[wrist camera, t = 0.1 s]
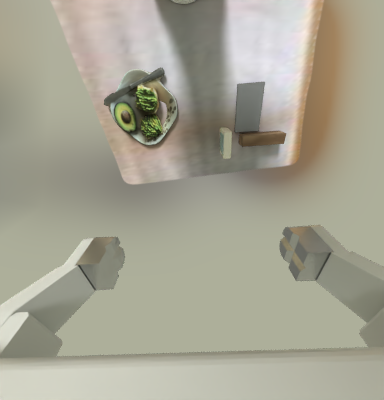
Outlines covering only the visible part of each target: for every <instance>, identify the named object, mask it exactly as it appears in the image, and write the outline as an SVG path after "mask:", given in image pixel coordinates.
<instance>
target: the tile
mask: <svg viewBox="0 0 384 400" xmlns="http://www.w3.org/2000/svg"><path fill="white" fill-rule="evenodd" d="M231 143H232V132H231V131H230V130H229V129H228V128H227V127H224V128H220V153H221V155H222V157H223V159H230V158H231Z"/></svg>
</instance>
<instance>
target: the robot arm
mask: <svg viewBox="0 0 384 400" xmlns="http://www.w3.org/2000/svg"><path fill="white" fill-rule="evenodd" d="M171 1H173V2H176V3H179V4H187V3H191V2H193V1H195V0H171ZM283 235H284V236H285V237H284V238H283V239H281V241H280V252H281V255H282V257H283V259H284V260H285V261H287V262H288V263H290V264H289V269H290V271H291V273H292V274H293V276H294V278H295V280H296V281H316V282H317V283H318V284H320V285H321V286H322V287H323V288H325V289H326V290H327V291H328V292H329V293H331V294H332V295H333V296H335V297H336V298H337V299H338V300H339V301H341V302H342V303H343V304H344V305H346V306H347V307H348V308H349V309H351V310H352V311H353V312H354V313H356V314H357V315H358V316H359V317H361V318H362V319H363V320H364V321H366V322H367V324H366V325H365V326H364V327H363V328H362V329H361V330H360V333H359V334H360V336H361V337H362V338H363V340H364V341H365V343H366V344H367V346H368V347H355V348H323V349H289V350H255V351H225V352H224V351H222V352H189V353H159V354H158V353H157V354H126V355H125V354H124V355H92V356H91V355H90V356H57V357H56V355H57V353H58V352H59V349H60V348H61V346H62V340H61V339H60V338H59V337H57V336H56V335H55V333H56V332H57V331H58V330H59V329H60V327H61V326H62V325H63V324H64V323H65V322H66V321H67V320H68V319H69V318H70V317H71V316H72V315H73V314H74V313H75V312H76V311H77V310H78V309H79V308H80V307H81V306H82V305H83V304H84V303H85V302H86V301H87V300H88V299H89V298H90V296H91V295H92V294H93V293H94V292H95V290H107V289H114V286H115V284H116V281H117V279H118V277H119V275H118V271H119V270H120V269H121V268H122V267H123V264H124V259H125V254H124V250H123V248H121V247H120V246H119V244H120V241H119V239H118V237H96V238H86V239H84V240H82V242H81V243H80V244H79V246H78V247H77V248H76V250H75V251H74V252H73V254H72V255H71V256H70V257H69V259H68V260H67V261H66V263H65V264H64V265H63V266H60V267H58V268H56V269H55V270H53V271H52V272H50V273H48V274H47V275H45V276H44V277H43V278H41V279H39V280H38V281H36V282H35V283H33V284H32V285H30V286H29V287H27V288H26V289H24V290H23V291H21V292H20V293H18V294H16V295H15V296H13V297H12V298H10V299H9V300H7V301H6V302H4V303H3V304H1V305H0V400H384V267H383V266H381V265H379V264H377V263H375V262H373V261H371V260H368V259H366V258H364V257H362V256H360V255H358V254H356V253H354V252H348V251H347V250H346V249H345V248H344V247H343V246H342V245H341V244H340V243H339V242H338V241H337V240H336V239H335V238H334V237H333V236H332V235H331V234H330V233H329V232H328V231H327V230H326V229H325V228H324V227H322V226H320V225H311V226H298V227H286V228H285V229H284V230H283Z"/></svg>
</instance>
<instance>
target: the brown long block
mask: <svg viewBox="0 0 384 400" xmlns="http://www.w3.org/2000/svg"><path fill="white" fill-rule="evenodd" d="M285 136H286V133H284V132H281V131H269V132H255V133H242V134H239V144H240V145H241V146H242V147H243V146H257V145H272V144H284V141H285Z"/></svg>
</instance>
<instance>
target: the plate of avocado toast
mask: <svg viewBox="0 0 384 400" xmlns="http://www.w3.org/2000/svg"><path fill="white" fill-rule="evenodd" d="M164 74H165V73H164V69H163V68H158V69H157V70H155V71H154V72H151V73H149V72H147V71H145V70H141V69H135V70H130V71H128V72H127V73H126V74H125V76H124V77H123V79H122V81H121V83H120V85H119V87H118V89H117V92H115V93H112V94H110V95H109V96H108V97H106V98H105V99H104V105H106V106H109V108H110V110H111V114H112V117H113V119H114V120H115V122H116V123H117V124H118V125H119V126H120V127H121V128H122V129H123V130H124V131H126V132H127V133H128V134H130V135H131V136H132V137H134V138H135V139H136V140H138V141H139V142H141V143H142V144H144V145H153V144H157V143H159V142H160V141H161V140H162V139H163V138H164V136H165V135H166V133H167V132H168V130H169V129H170V127H171V126H172V124H173V123H174V121H175V119H176V117H177V111H178V108H177V101H176V99H175V97H174V96H173V95H172V94H171V93H170V91H169V90H168V89H167V88H166V87H165V86H163V84H162V83H161V82H160V79H161V77H163V76H164ZM133 94H136V97H134V95H133ZM159 101H162V102H164V103H165V104H166V106H167V118H166V121H165V123H164V125H163V126H162V124H161V122H160V120H159V118H158V116H157V115H156V112H157V110H158V108H159ZM145 116H146V117H145Z"/></svg>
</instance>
